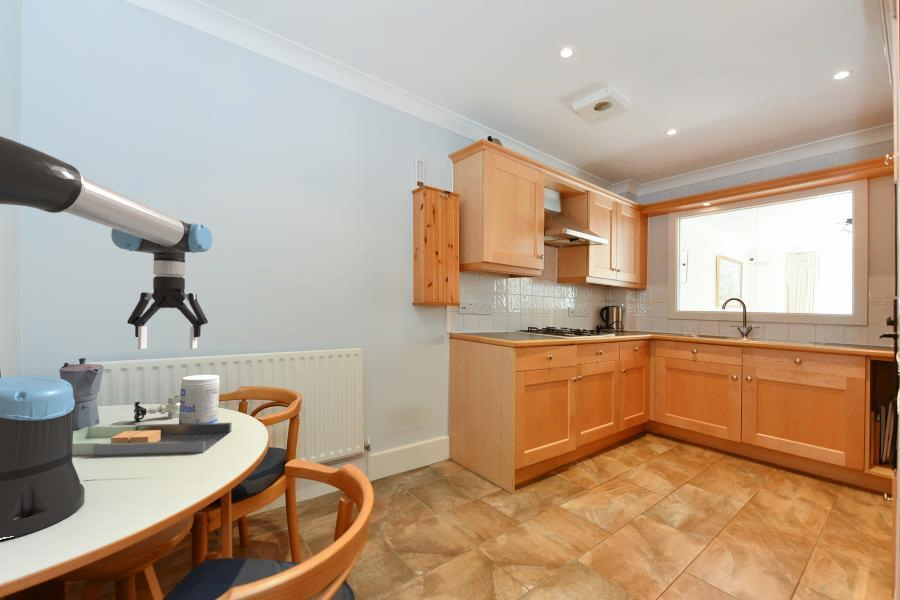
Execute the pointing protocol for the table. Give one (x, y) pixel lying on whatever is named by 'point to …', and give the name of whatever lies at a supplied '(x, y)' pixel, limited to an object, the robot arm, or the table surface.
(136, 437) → the orange flat block
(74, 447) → the tray
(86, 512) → the table surface
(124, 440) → the chip
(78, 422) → the moka pot
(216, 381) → the supplement tub
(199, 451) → the tray
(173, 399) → the valve
